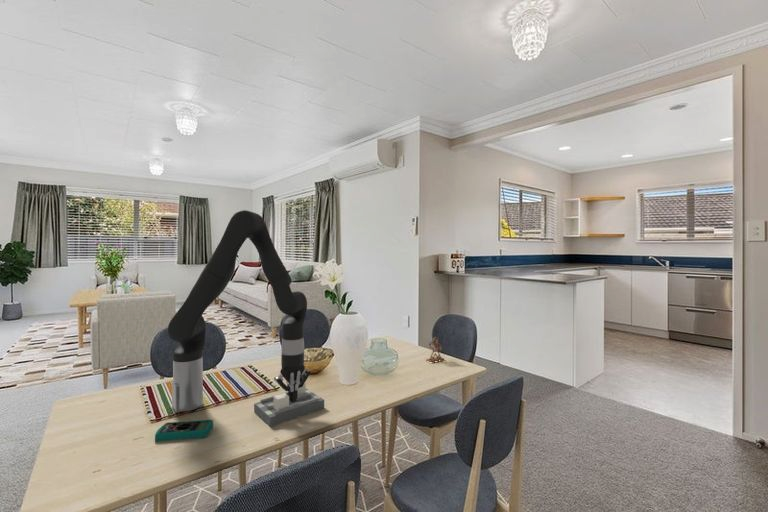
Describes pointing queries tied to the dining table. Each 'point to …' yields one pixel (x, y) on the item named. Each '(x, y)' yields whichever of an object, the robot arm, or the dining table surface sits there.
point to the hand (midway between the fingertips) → (292, 400)
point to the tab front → (281, 401)
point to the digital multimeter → (184, 430)
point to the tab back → (302, 389)
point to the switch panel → (288, 408)
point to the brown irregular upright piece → (435, 351)
